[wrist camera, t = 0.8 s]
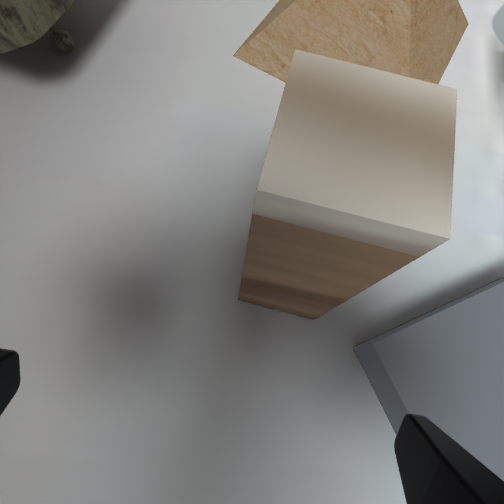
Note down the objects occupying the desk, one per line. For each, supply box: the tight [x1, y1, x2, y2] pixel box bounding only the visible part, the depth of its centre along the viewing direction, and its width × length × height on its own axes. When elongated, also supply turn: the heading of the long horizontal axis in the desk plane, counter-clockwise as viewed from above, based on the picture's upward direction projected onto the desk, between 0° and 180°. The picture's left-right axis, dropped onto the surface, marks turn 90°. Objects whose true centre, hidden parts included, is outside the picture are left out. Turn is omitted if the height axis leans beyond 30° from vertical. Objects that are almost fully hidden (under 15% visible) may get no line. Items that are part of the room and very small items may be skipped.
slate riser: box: [353, 277, 504, 481], centre depth 19 cm, size 12×12×3 cm
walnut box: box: [238, 49, 457, 319], centre depth 16 cm, size 5×5×14 cm
